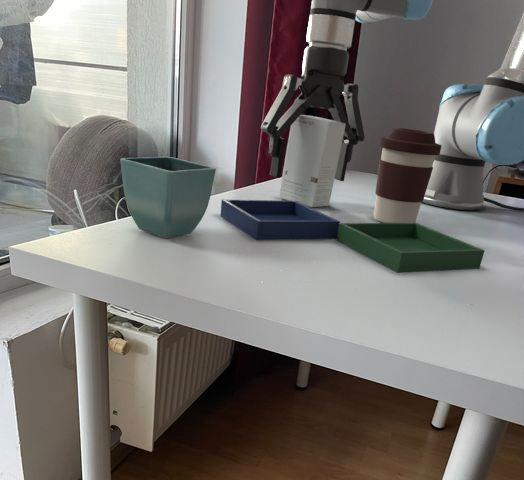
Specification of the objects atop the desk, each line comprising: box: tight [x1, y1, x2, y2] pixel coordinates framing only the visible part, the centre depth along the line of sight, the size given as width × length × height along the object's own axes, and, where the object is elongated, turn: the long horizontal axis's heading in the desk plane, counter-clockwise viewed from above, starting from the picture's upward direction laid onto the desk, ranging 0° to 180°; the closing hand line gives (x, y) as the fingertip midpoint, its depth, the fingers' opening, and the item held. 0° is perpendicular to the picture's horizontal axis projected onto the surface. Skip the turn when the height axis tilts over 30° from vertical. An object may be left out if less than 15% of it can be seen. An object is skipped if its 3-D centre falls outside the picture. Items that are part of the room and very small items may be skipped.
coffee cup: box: [373, 127, 442, 223], centre depth 94 cm, size 10×10×15 cm
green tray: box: [335, 222, 485, 274], centre depth 77 cm, size 14×14×3 cm
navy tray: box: [220, 198, 341, 241], centre depth 83 cm, size 13×13×3 cm
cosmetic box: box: [278, 114, 346, 208], centre depth 101 cm, size 8×6×15 cm
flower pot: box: [119, 156, 217, 239], centre depth 72 cm, size 9×9×9 cm
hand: (307, 178), depth 102 cm, fingers open, 13 cm apart
